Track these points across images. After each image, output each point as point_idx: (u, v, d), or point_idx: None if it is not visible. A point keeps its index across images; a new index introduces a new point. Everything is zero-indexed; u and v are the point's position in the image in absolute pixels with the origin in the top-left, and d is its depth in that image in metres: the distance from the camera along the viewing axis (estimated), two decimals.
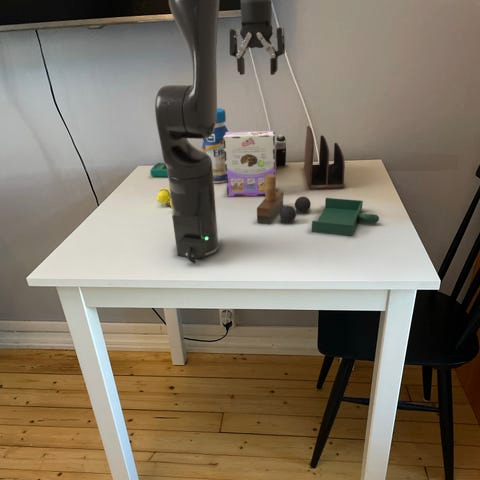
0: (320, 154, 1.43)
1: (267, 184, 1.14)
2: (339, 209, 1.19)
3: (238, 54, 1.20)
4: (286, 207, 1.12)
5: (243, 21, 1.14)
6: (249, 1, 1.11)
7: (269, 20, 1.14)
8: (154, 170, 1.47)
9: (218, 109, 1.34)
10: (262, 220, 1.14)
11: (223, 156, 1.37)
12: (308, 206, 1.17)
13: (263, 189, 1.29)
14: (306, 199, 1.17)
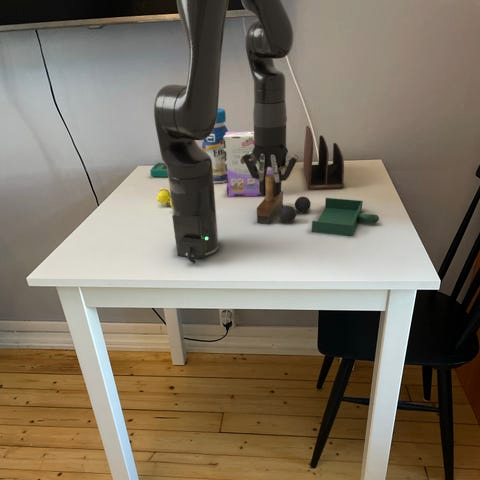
0: (319, 154, 1.43)
1: (267, 184, 1.14)
2: (339, 209, 1.19)
3: (260, 177, 1.13)
4: (286, 207, 1.12)
5: (256, 144, 1.08)
6: (263, 127, 1.04)
7: (284, 143, 1.07)
8: (154, 170, 1.47)
9: (218, 109, 1.34)
10: (262, 220, 1.14)
11: (223, 156, 1.37)
12: (308, 206, 1.17)
13: None
14: (306, 199, 1.17)
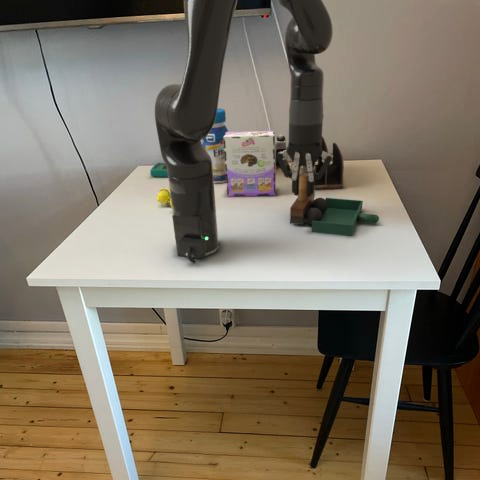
0: None
1: (300, 183, 1.11)
2: (339, 209, 1.19)
3: (293, 176, 1.10)
4: None
5: (291, 142, 1.05)
6: (300, 124, 1.01)
7: (320, 141, 1.04)
8: (154, 170, 1.47)
9: (218, 109, 1.34)
10: (295, 220, 1.11)
11: (223, 156, 1.37)
12: None
13: (263, 189, 1.29)
14: None
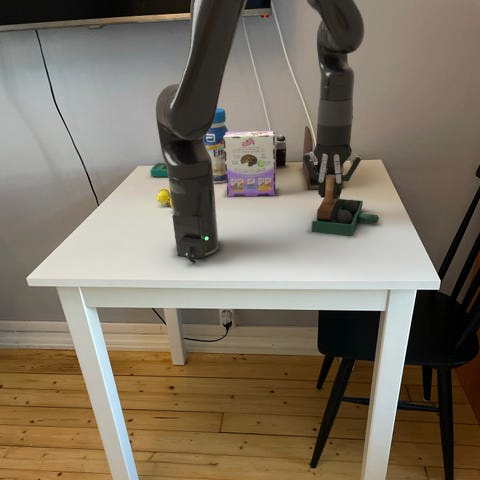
0: None
1: (327, 185, 1.09)
2: (339, 209, 1.19)
3: (320, 178, 1.09)
4: (347, 212, 1.08)
5: (320, 143, 1.03)
6: (329, 125, 0.99)
7: (349, 142, 1.02)
8: (154, 170, 1.47)
9: (218, 109, 1.34)
10: None
11: (223, 156, 1.37)
12: (356, 208, 1.13)
13: (263, 189, 1.29)
14: (352, 201, 1.13)
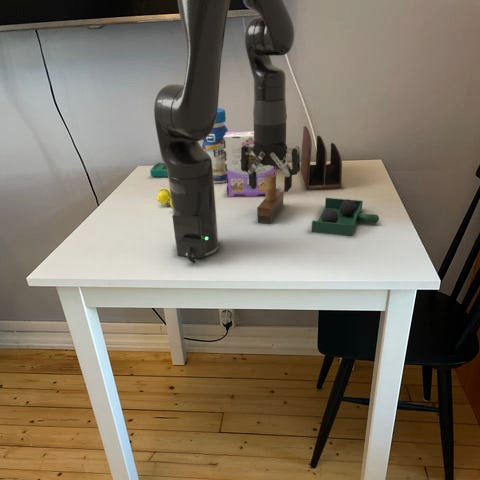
0: (317, 154, 1.43)
1: (267, 184, 1.14)
2: None
3: (250, 170, 1.13)
4: (321, 215, 1.10)
5: (256, 141, 1.07)
6: (263, 124, 1.04)
7: (284, 141, 1.07)
8: (154, 170, 1.47)
9: (218, 109, 1.34)
10: (262, 220, 1.14)
11: (223, 156, 1.37)
12: (353, 205, 1.13)
13: (263, 189, 1.29)
14: (347, 200, 1.14)
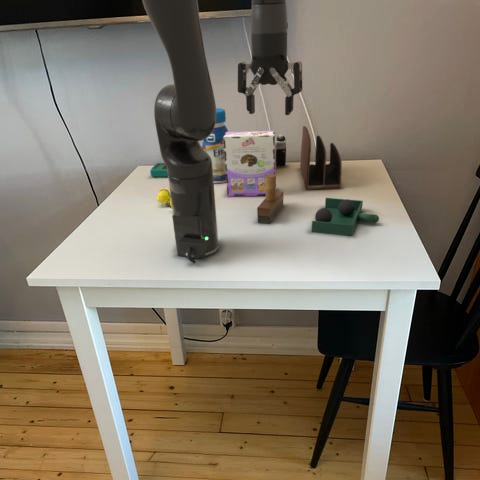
0: (316, 154, 1.43)
1: (267, 184, 1.14)
2: None
3: (247, 91, 1.03)
4: (316, 219, 1.12)
5: (254, 55, 0.97)
6: (261, 32, 0.94)
7: (285, 54, 0.97)
8: (154, 170, 1.47)
9: (218, 109, 1.34)
10: (262, 220, 1.14)
11: (223, 156, 1.37)
12: (351, 204, 1.13)
13: (263, 189, 1.29)
14: (345, 200, 1.14)
